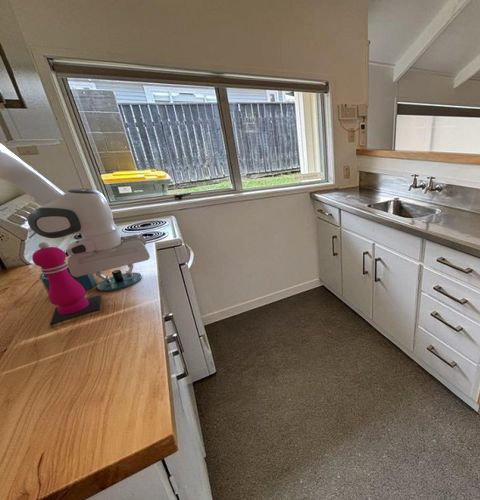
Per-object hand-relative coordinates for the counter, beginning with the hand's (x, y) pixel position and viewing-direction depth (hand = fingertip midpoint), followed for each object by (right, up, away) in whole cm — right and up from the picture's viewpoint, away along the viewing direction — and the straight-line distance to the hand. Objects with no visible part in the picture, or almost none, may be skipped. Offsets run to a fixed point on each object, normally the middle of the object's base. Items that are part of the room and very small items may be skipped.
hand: (119, 279), depth 94 cm
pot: (-12, -3, -2) cm, 13 cm away
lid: (0, -1, 0) cm, 1 cm away
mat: (0, -8, -14) cm, 16 cm away
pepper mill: (-1, -7, -14) cm, 16 cm away
